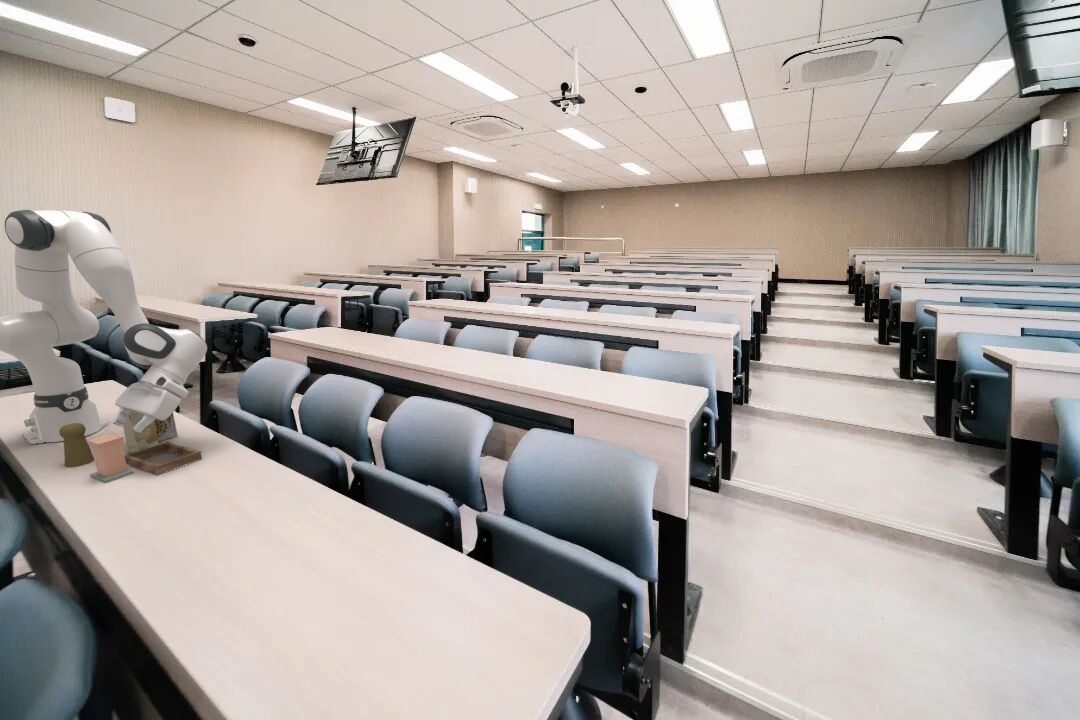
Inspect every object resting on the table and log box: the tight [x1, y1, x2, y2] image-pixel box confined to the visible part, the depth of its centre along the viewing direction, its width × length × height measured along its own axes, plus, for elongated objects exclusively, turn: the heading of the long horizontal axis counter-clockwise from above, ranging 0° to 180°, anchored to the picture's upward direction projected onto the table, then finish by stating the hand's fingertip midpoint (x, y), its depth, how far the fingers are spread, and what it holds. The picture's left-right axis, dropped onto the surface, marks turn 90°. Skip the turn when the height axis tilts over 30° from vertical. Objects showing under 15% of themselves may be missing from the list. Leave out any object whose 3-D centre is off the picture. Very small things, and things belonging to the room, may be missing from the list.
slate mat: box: [89, 468, 135, 483], centre depth 129 cm, size 8×6×1 cm
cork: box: [59, 423, 95, 468], centre depth 135 cm, size 6×6×11 cm
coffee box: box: [155, 412, 178, 442], centre depth 151 cm, size 9×6×16 cm
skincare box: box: [122, 412, 160, 453], centre depth 144 cm, size 6×4×12 cm
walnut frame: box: [124, 441, 203, 476], centre depth 136 cm, size 16×11×2 cm
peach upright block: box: [87, 433, 128, 477], centre depth 128 cm, size 5×5×9 cm
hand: (126, 428), depth 131 cm, fingers open, 8 cm apart
